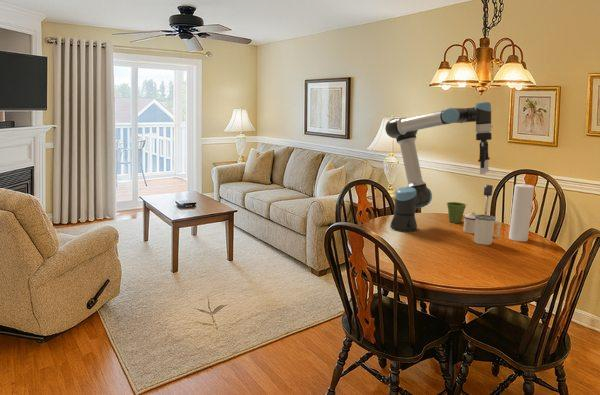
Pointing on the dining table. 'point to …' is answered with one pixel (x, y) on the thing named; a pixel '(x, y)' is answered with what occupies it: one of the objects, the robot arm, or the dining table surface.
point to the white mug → (485, 229)
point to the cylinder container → (521, 212)
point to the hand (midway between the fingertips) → (484, 173)
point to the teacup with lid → (469, 223)
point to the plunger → (488, 193)
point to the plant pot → (455, 211)
